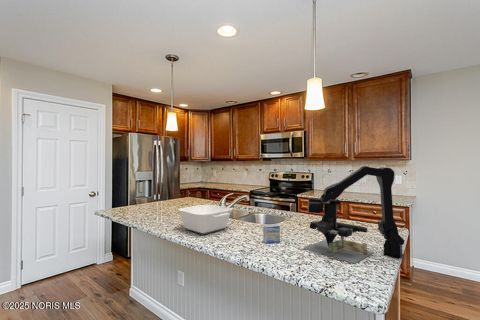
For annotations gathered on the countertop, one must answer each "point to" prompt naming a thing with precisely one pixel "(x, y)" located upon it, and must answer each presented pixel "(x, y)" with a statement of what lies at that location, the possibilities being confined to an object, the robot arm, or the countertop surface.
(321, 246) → the card
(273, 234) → the medicine box
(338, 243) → the folding panel
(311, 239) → the countertop surface
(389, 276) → the countertop surface
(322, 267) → the countertop surface
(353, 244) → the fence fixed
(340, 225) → the door handle
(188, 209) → the tub
